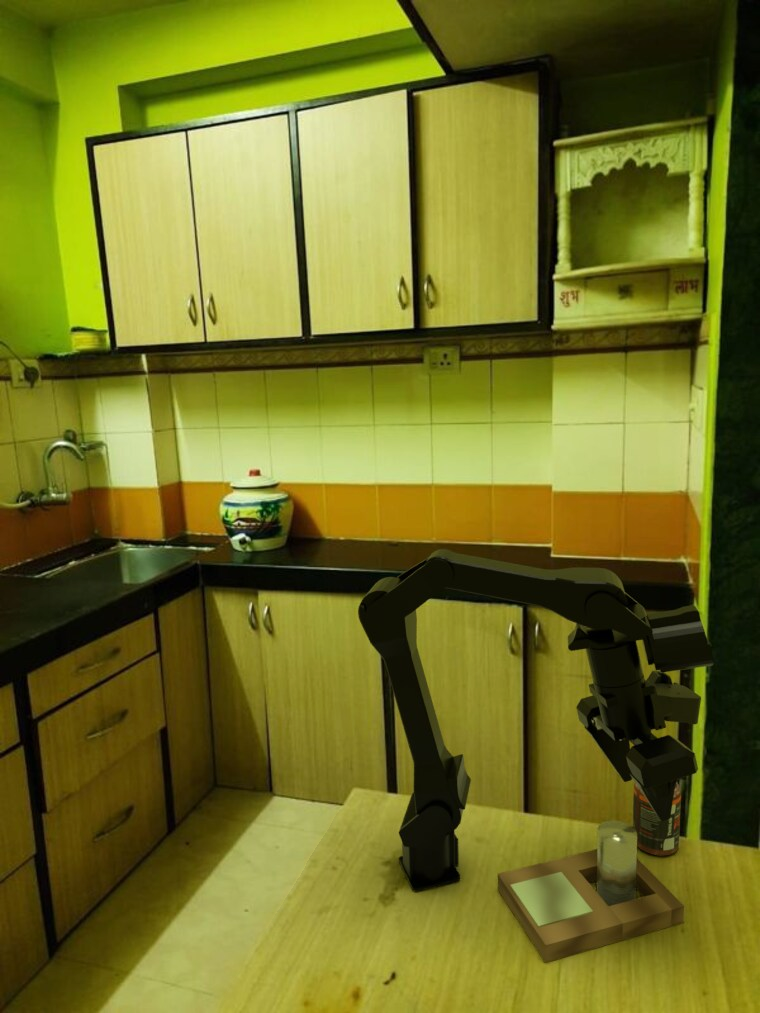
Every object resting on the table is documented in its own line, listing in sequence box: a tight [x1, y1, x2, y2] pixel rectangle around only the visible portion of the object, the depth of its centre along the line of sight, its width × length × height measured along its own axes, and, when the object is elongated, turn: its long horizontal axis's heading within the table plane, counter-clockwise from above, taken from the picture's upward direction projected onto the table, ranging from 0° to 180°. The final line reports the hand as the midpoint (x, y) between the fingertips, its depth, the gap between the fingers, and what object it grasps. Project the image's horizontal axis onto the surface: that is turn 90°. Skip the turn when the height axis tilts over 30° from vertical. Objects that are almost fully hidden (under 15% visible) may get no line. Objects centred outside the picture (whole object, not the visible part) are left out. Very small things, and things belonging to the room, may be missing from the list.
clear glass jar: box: [596, 819, 638, 906], centre depth 86 cm, size 4×4×9 cm
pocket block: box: [497, 848, 685, 963], centre depth 86 cm, size 18×12×2 cm, turn 106°
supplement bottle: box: [632, 781, 682, 857], centre depth 96 cm, size 6×6×11 cm
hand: (645, 799), depth 84 cm, fingers open, 9 cm apart
